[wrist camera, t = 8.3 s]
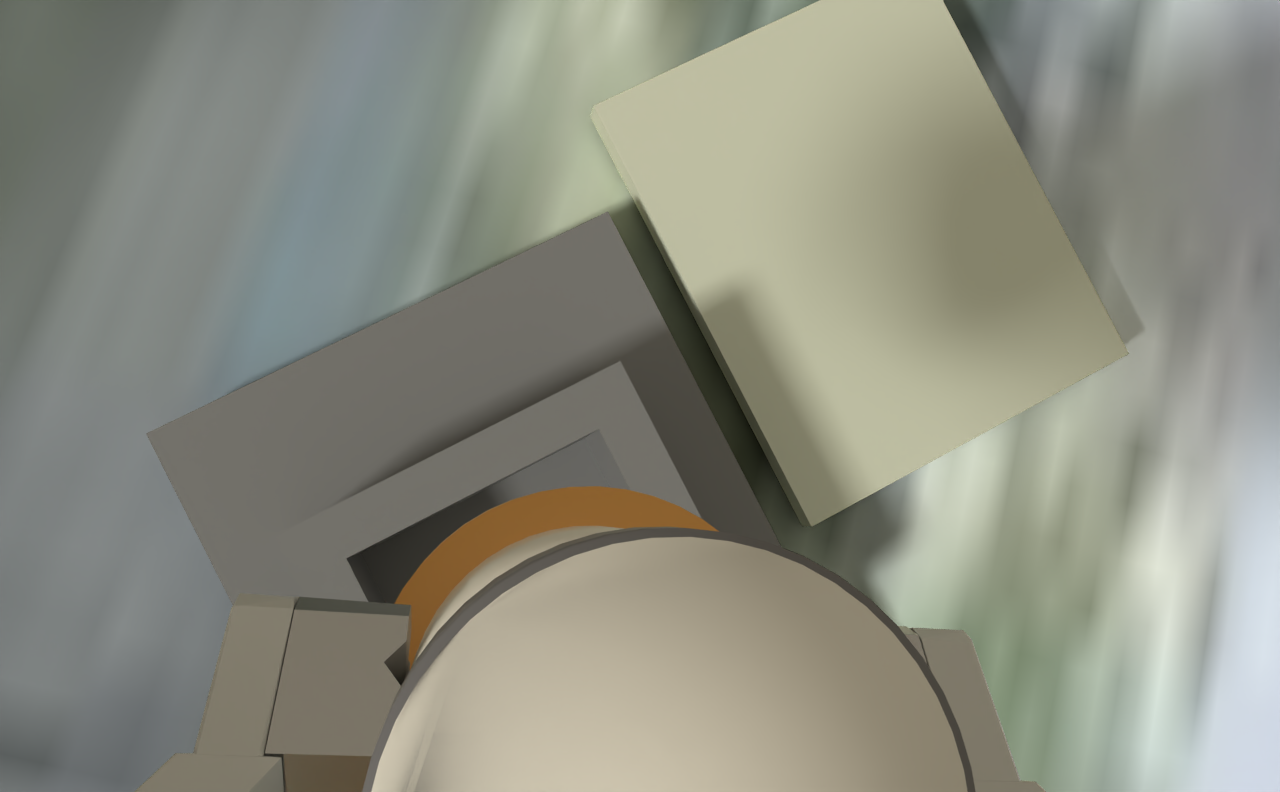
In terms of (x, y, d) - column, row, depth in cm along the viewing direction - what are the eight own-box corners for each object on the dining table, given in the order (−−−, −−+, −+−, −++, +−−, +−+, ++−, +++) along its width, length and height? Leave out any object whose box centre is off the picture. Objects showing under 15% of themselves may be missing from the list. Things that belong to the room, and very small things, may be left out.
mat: (589, 116, 29) (593, 105, 28) (907, -31, 30) (918, -46, 30) (802, 526, 29) (811, 526, 28) (1112, 357, 30) (1128, 353, 29)
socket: (164, 438, 27) (103, 423, 23) (601, 227, 29) (624, 175, 24) (450, 1004, 27) (445, 1101, 22) (873, 755, 28) (947, 799, 24)
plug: (329, 588, 16) (151, 693, 7) (630, 433, 16) (826, 344, 7) (485, 896, 16) (510, 1411, 7) (781, 727, 16) (1158, 986, 7)
